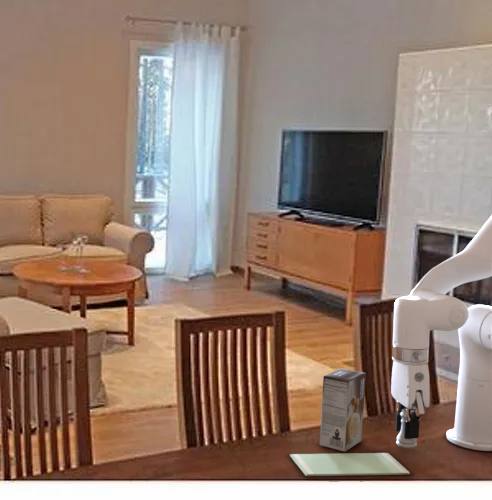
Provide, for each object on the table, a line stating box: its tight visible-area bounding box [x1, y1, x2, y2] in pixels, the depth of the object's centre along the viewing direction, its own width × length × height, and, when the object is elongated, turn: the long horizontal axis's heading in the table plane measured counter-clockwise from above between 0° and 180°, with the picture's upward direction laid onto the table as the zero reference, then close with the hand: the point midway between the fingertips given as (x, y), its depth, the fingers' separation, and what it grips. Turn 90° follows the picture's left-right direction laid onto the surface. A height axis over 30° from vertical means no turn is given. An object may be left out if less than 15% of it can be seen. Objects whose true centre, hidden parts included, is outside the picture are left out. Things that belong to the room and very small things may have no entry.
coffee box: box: [319, 368, 367, 453], centre depth 188 cm, size 9×6×16 cm
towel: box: [289, 452, 411, 477], centre depth 176 cm, size 22×11×1 cm, turn 97°
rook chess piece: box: [395, 409, 418, 450], centre depth 185 cm, size 4×4×8 cm
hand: (406, 433), depth 185 cm, fingers closed on rook chess piece, 3 cm apart
